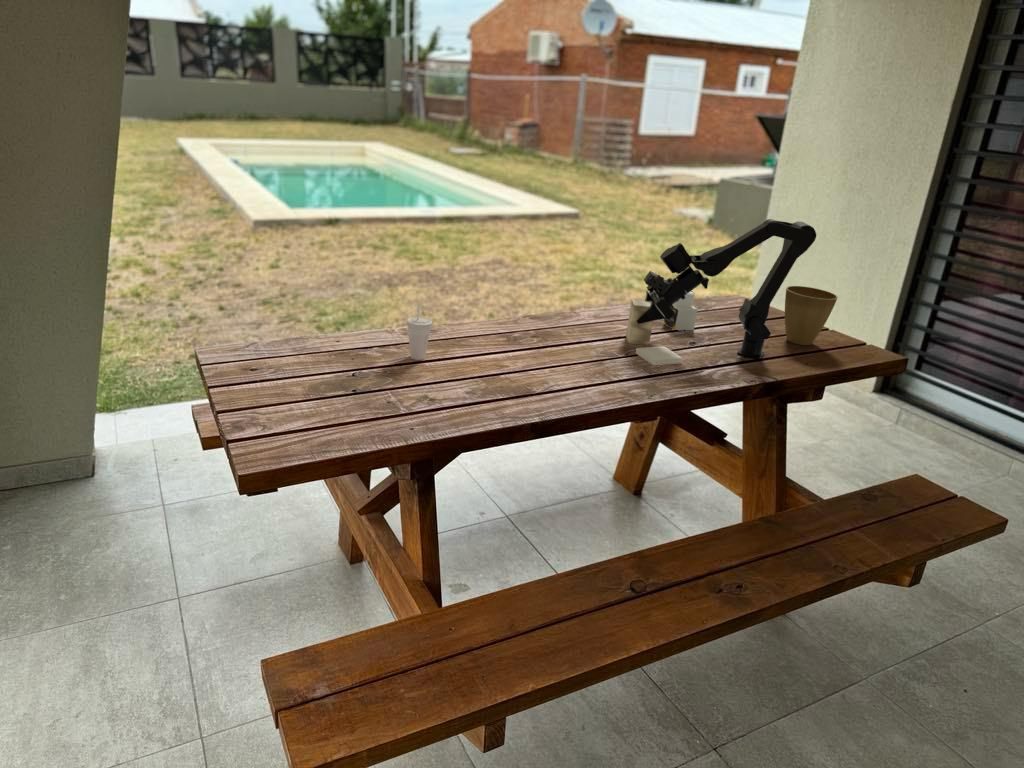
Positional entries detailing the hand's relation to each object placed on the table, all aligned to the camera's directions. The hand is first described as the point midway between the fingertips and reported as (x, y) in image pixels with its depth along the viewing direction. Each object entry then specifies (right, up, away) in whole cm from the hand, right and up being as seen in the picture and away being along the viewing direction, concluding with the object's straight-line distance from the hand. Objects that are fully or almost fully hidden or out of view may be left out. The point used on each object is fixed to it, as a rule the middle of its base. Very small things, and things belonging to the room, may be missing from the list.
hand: (636, 319), depth 212 cm
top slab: (+4, -12, -10) cm, 16 cm away
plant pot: (+54, -5, +19) cm, 58 cm away
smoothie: (-59, -12, -24) cm, 65 cm away
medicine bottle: (+17, -1, +21) cm, 27 cm away
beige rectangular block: (+1, -7, +3) cm, 7 cm away
